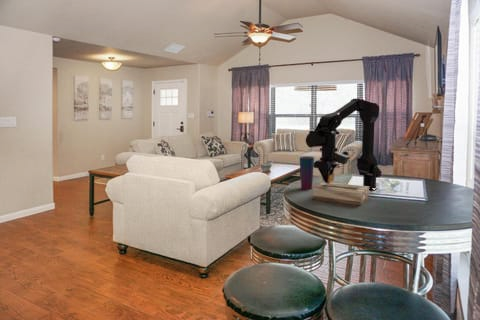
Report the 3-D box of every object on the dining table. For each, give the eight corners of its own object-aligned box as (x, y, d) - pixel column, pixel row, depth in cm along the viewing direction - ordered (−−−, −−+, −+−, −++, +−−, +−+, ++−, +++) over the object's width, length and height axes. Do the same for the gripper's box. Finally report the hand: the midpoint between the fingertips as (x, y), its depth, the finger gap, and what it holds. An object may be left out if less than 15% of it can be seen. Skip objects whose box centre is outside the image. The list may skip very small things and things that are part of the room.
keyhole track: (323, 192, 163) (323, 181, 163) (369, 198, 153) (369, 186, 152) (312, 199, 153) (312, 187, 152) (361, 205, 142) (361, 193, 141)
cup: (313, 190, 168) (314, 158, 166) (299, 189, 170) (299, 158, 168) (313, 187, 175) (314, 156, 173) (299, 186, 176) (299, 156, 174)
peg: (325, 191, 158) (325, 172, 157) (333, 192, 156) (334, 173, 155) (321, 193, 155) (322, 174, 154) (330, 194, 153) (331, 175, 151)
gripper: (340, 148, 140) (339, 188, 143) (353, 144, 156) (353, 179, 158) (313, 147, 146) (313, 185, 149) (328, 143, 162) (328, 177, 164)
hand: (328, 181), depth 155 cm, fingers closed on peg, 4 cm apart
